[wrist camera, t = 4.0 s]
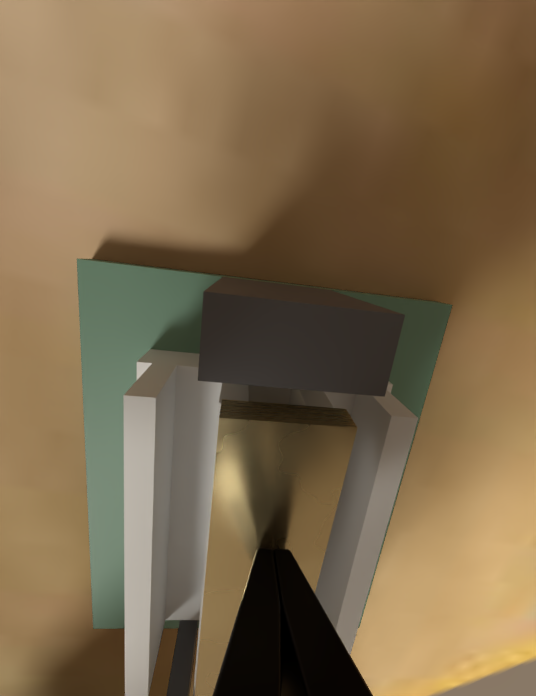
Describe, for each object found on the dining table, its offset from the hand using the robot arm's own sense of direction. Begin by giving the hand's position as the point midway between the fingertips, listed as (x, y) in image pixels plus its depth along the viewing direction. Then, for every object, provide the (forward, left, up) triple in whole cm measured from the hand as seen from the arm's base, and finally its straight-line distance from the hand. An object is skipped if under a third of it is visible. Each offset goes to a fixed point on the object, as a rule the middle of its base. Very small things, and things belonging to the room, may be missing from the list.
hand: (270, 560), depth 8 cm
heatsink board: (-3, 0, -7) cm, 7 cm away
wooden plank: (-3, 0, -1) cm, 3 cm away
